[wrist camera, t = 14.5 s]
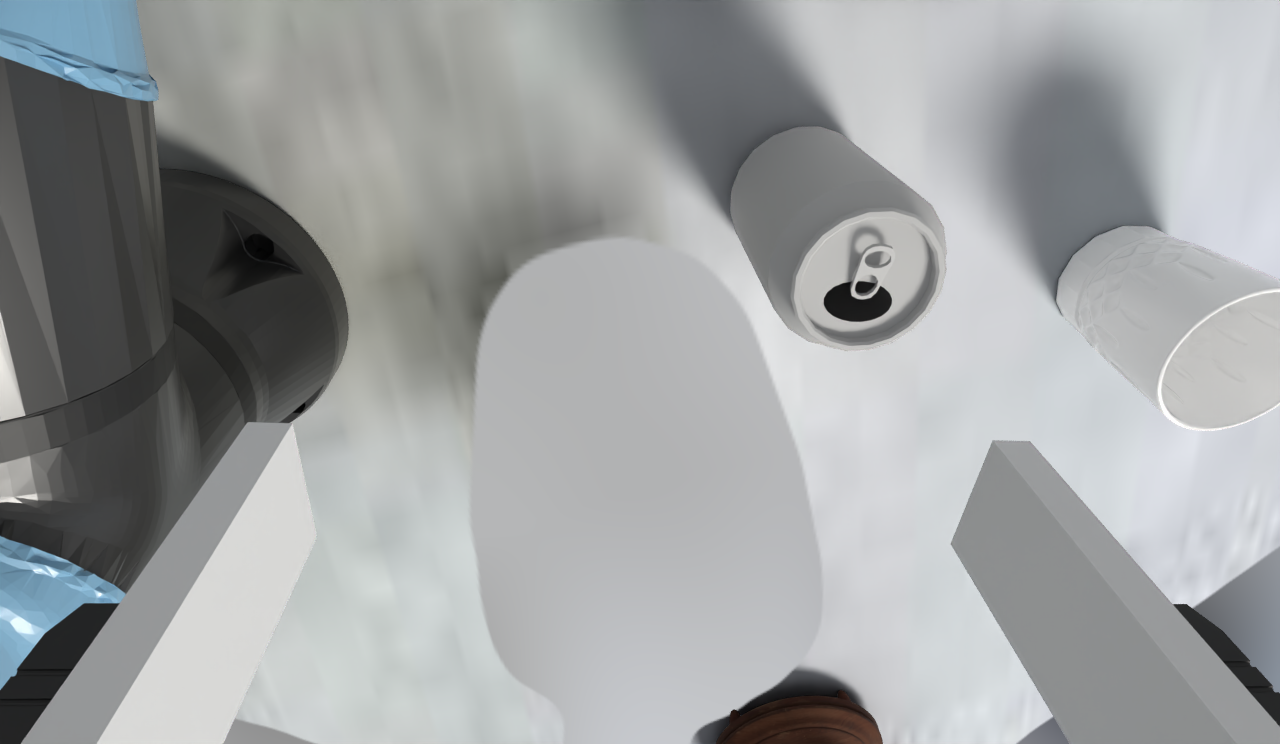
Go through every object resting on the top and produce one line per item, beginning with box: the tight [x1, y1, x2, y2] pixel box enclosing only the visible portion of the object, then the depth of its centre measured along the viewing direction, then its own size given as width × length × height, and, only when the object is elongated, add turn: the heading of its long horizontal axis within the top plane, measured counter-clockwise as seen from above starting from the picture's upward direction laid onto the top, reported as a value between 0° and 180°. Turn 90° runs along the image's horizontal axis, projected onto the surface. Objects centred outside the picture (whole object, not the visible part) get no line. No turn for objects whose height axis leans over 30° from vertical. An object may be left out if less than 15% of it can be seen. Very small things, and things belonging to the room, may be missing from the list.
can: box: [730, 126, 947, 351], centre depth 33 cm, size 8×8×12 cm
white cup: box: [1056, 226, 1280, 431], centre depth 38 cm, size 8×8×10 cm
